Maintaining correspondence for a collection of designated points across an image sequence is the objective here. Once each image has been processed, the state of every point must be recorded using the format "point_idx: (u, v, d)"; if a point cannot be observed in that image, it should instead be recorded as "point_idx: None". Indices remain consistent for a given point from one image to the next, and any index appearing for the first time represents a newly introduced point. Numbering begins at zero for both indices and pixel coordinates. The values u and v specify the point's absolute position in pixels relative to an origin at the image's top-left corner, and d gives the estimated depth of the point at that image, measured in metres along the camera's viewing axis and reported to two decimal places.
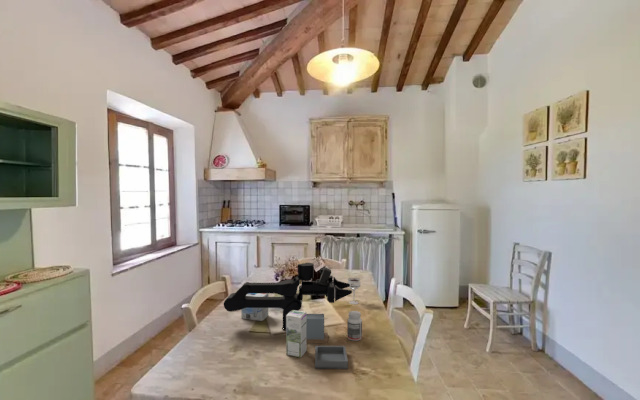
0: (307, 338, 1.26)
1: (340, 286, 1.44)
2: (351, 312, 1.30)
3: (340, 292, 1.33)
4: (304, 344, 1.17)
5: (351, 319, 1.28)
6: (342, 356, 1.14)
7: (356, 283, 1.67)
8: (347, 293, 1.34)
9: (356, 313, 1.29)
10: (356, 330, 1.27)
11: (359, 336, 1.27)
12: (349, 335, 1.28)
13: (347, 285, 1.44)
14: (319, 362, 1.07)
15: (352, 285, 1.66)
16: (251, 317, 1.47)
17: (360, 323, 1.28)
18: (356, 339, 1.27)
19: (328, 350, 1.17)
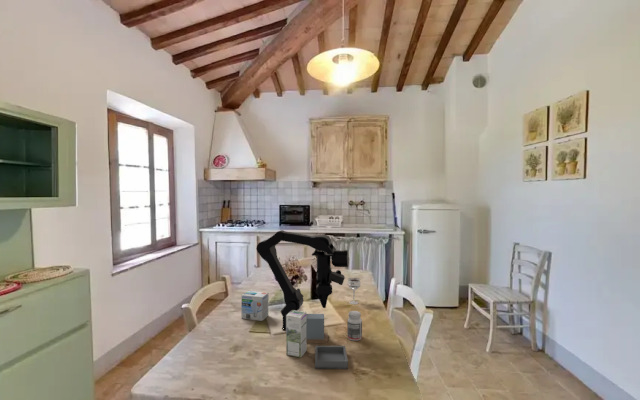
0: (307, 338, 1.26)
1: None
2: (351, 312, 1.30)
3: (324, 297, 1.30)
4: (304, 344, 1.17)
5: (351, 319, 1.28)
6: (342, 356, 1.14)
7: (356, 283, 1.66)
8: (323, 303, 1.31)
9: (356, 313, 1.29)
10: (356, 330, 1.27)
11: (359, 336, 1.27)
12: (349, 335, 1.28)
13: None
14: (319, 362, 1.07)
15: (352, 285, 1.66)
16: (251, 317, 1.47)
17: (360, 323, 1.28)
18: (356, 339, 1.27)
19: (328, 350, 1.17)
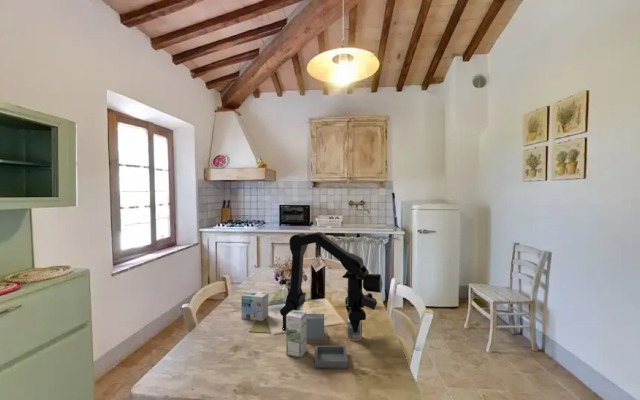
0: (307, 338, 1.26)
1: None
2: None
3: (356, 321, 1.25)
4: (304, 344, 1.17)
5: None
6: (342, 356, 1.14)
7: None
8: (354, 328, 1.26)
9: None
10: None
11: (359, 336, 1.27)
12: (349, 335, 1.28)
13: None
14: (319, 362, 1.07)
15: None
16: (251, 317, 1.47)
17: (360, 323, 1.28)
18: (356, 339, 1.27)
19: (328, 350, 1.17)
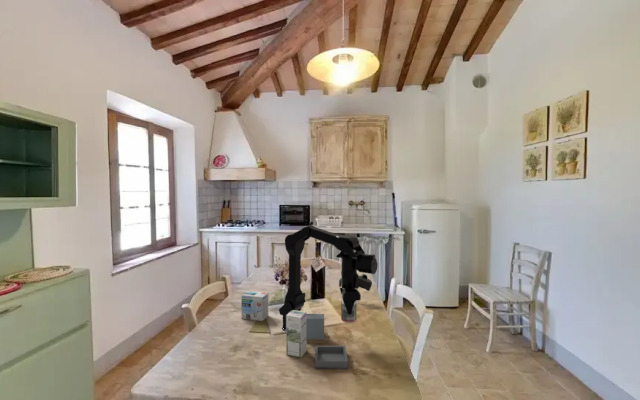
0: (307, 338, 1.26)
1: None
2: None
3: (350, 302, 1.20)
4: (304, 344, 1.17)
5: None
6: (342, 356, 1.14)
7: None
8: (348, 310, 1.21)
9: None
10: None
11: (353, 318, 1.22)
12: (343, 318, 1.23)
13: None
14: (319, 362, 1.07)
15: None
16: (251, 317, 1.47)
17: (354, 305, 1.23)
18: (350, 321, 1.22)
19: (328, 350, 1.17)
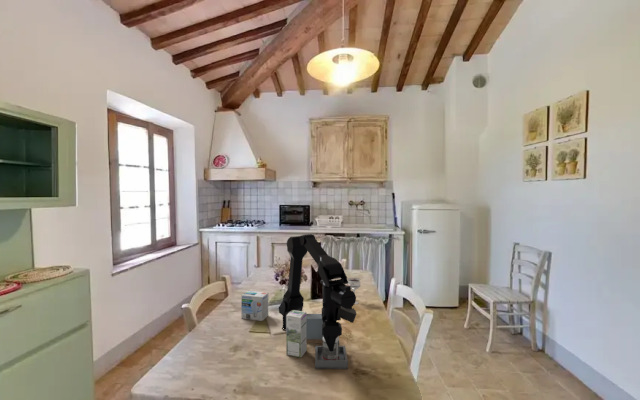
0: (307, 338, 1.26)
1: None
2: None
3: (331, 338, 1.07)
4: (304, 344, 1.17)
5: None
6: (342, 356, 1.14)
7: (356, 283, 1.67)
8: (330, 346, 1.07)
9: None
10: None
11: (335, 357, 1.10)
12: (324, 356, 1.11)
13: None
14: (319, 362, 1.07)
15: (352, 285, 1.66)
16: (251, 317, 1.47)
17: (337, 342, 1.11)
18: None
19: None
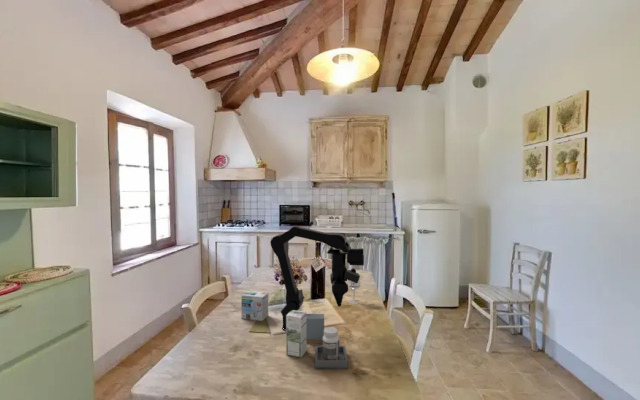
0: (307, 338, 1.26)
1: None
2: (327, 329, 1.13)
3: (339, 295, 1.29)
4: (304, 344, 1.17)
5: (326, 337, 1.11)
6: (342, 356, 1.14)
7: (356, 283, 1.67)
8: (338, 302, 1.30)
9: (333, 331, 1.12)
10: (332, 350, 1.10)
11: (335, 357, 1.10)
12: (324, 356, 1.11)
13: None
14: (319, 362, 1.07)
15: (352, 285, 1.66)
16: (251, 317, 1.47)
17: (337, 342, 1.11)
18: None
19: None
